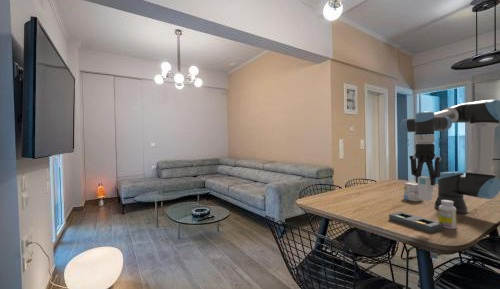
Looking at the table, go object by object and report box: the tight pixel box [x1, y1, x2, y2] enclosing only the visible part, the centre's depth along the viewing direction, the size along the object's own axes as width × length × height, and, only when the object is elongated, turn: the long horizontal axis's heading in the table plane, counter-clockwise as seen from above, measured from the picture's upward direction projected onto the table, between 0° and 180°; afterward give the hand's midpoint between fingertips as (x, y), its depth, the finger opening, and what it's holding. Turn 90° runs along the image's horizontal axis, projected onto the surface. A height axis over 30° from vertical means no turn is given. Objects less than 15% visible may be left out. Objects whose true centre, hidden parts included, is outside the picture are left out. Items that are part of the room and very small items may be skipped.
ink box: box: [403, 179, 424, 202], centre depth 164 cm, size 9×8×13 cm
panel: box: [388, 211, 444, 234], centre depth 118 cm, size 10×20×3 cm, turn 25°
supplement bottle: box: [438, 200, 457, 230], centre depth 114 cm, size 7×7×13 cm
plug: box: [418, 175, 433, 202], centre depth 113 cm, size 5×4×11 cm
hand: (425, 190), depth 113 cm, fingers closed on plug, 4 cm apart
